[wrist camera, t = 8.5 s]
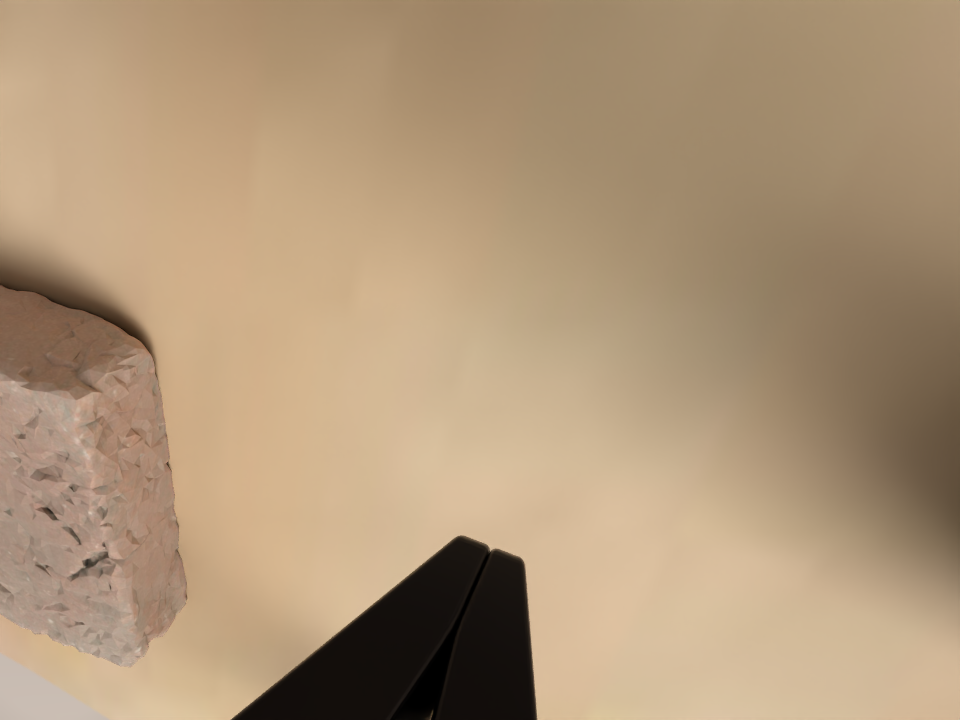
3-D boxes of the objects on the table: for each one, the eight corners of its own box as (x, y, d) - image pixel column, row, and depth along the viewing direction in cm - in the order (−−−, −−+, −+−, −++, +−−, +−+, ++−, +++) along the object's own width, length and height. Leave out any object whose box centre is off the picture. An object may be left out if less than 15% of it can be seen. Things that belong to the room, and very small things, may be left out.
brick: (197, 607, 36) (130, 690, 32) (54, 548, 37) (-26, 621, 33) (168, 323, 26) (68, 393, 22) (-22, 260, 28) (-146, 315, 24)
